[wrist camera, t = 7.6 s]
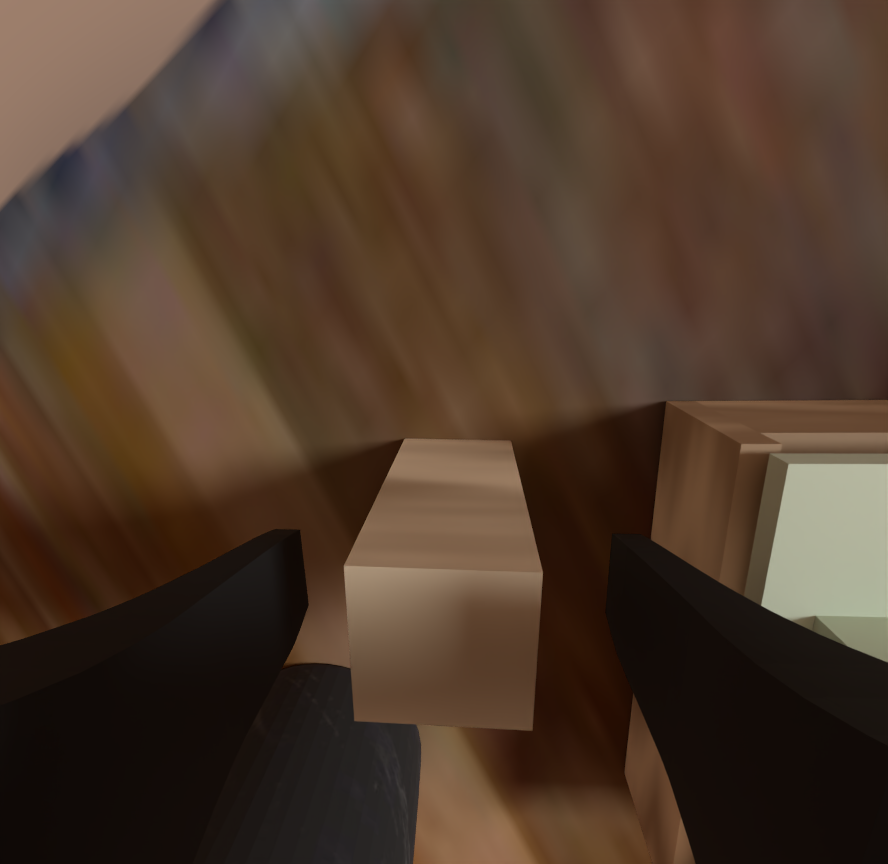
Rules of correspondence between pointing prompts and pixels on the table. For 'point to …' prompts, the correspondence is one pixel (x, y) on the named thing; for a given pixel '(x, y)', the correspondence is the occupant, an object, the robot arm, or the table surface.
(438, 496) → the wooden block
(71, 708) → the robot arm
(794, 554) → the cabinet door
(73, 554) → the table surface
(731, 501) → the wooden box
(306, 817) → the travel mug
